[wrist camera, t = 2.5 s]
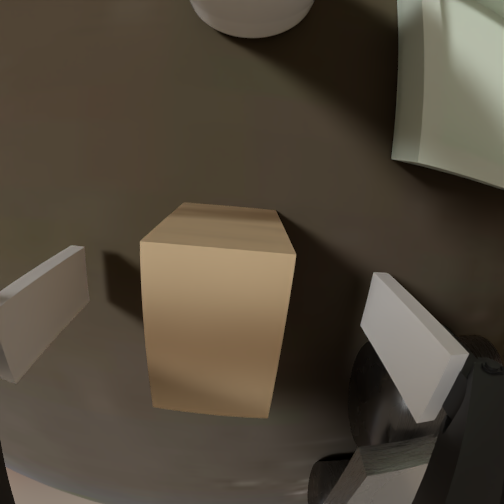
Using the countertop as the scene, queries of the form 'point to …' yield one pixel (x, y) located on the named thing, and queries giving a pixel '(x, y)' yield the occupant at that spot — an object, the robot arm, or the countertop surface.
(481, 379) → the robot arm
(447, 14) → the tray
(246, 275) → the wooden block
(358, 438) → the grey toy cart
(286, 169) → the countertop surface
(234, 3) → the drinking glass
